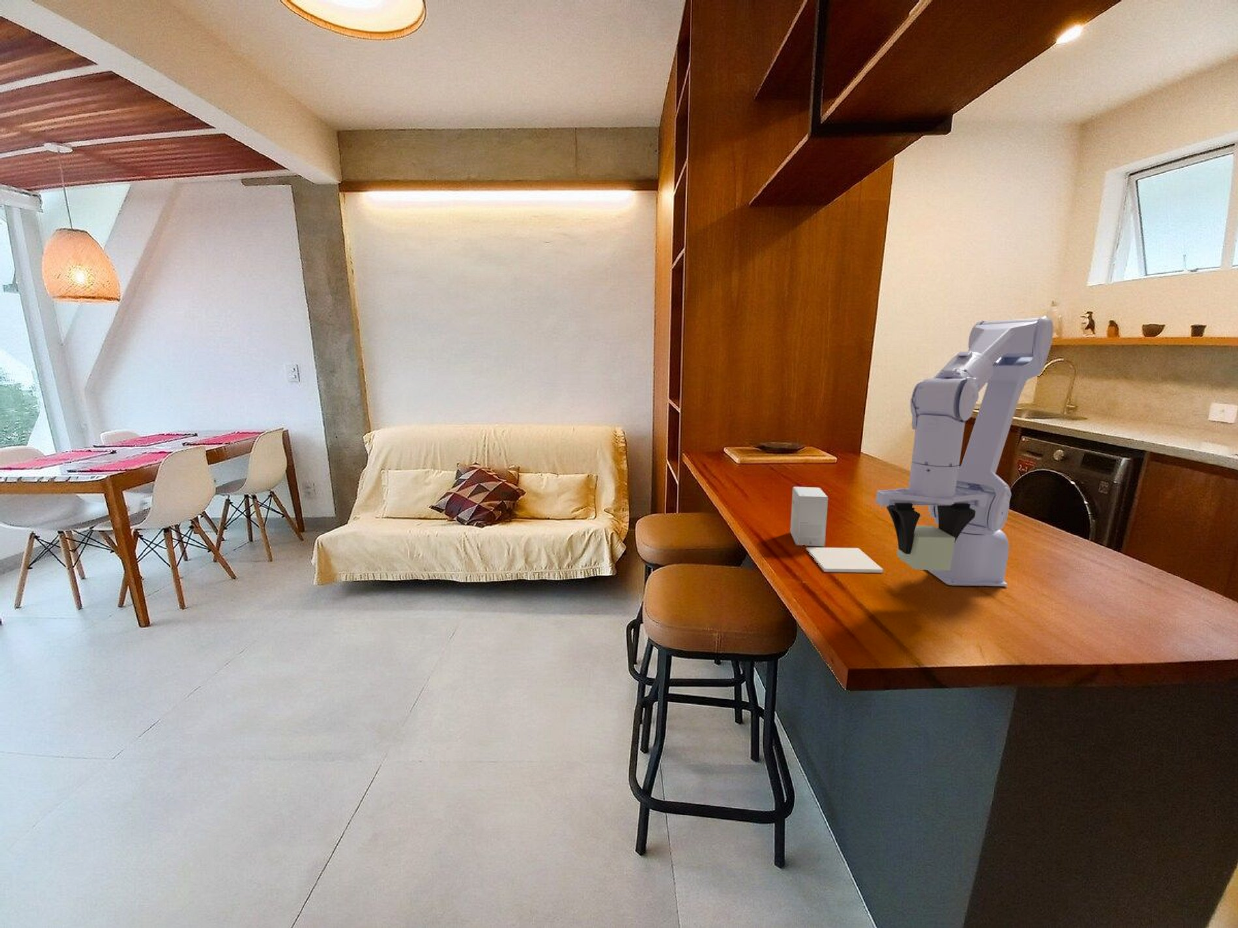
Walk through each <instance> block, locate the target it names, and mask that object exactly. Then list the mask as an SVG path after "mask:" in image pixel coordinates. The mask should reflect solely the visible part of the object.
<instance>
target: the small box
mask: <svg viewBox="0 0 1238 928" xmlns="http://www.w3.org/2000/svg"><path fill="white" fill-rule="evenodd" d="M828 501H829V496H828V495H826V493H825V492H824V491H823V490H822V488H821V487H811V486H810V487H807V486H793V487H792V496H791V513H790V514H791V515H790V530H789V531H790V532H789V533H790V534H791V536H792V537H791V538H792V539H793V541H794V543H795V546H803V545H805V547H808V546H809V547H825V545H826V532H827V531H826V530H827V518H828V517H827V516H828V504H829V502H828Z"/></svg>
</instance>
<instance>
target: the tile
mask: <svg viewBox="0 0 1238 928" xmlns="http://www.w3.org/2000/svg"><path fill="white" fill-rule="evenodd" d="M805 547H806V548H805V550H807V551H808V552H809V553H808V552H807V551H806V552H807V553H808V554H809V556H810V557H811V556H812V557H813V558H814V559H813V558H812V557H811V558H812V559H813V560H814V562H815V563H816V564H817V563H818V564H817V565H818V566H819V567H820V568H821V570H822V571H823V572H824V573H879V574H881V573H884V569H883V568H882V567H881V566H880V565H878V564H877V563H876V562H875V561H874V560H873V559H872V558H871V557H870V556H868V555H867V554H866V553H865V552H863V551H862V549H860V548H859V547H816V546H809V547H808V546H805Z"/></svg>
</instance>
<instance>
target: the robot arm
mask: <svg viewBox="0 0 1238 928" xmlns="http://www.w3.org/2000/svg"><path fill="white" fill-rule="evenodd" d="M1053 335H1054V322H1053V320H1052V319H1051V318H1049V316H1041V317H1033V318H1017V319H1003V320H989V321H988V320H987V321H986V320H979V321H978V322H976V323H975V324H974V325H973V327H971V330H970V332H969V337H968V344H967V345H968V346H967V347H968V350H967V351H959V352H958V353H957V354H956V355H954V356H953V357H952V358H951V359H950V360H949V361H948V362H947V363H946V364H945V365H944V367H942V369H940V370H939V372H938V373H936V375H935V376H934V377H933V378H931V377H929V378H928V377H926V378H925V379H923V380H922V381H919V382H917V383H916V385H915V386H914V388H913V391H912V394H911V397H910V405H909V407H910V412H911V427H912V430H914V437H913V438H914V439H913V447H912V454H911V455H912V457H911V464H910V465H911V466H910V474H909V480H908V487H906V488H905V487H904V488H903V487H902V488H895V489H886V490H885V489H884V490H881V489H880V490H876V494H875V495H876V497H875V503H876V504H877V505H879V506H880V507H886V509H887V511H888V514H889V515H890V518H891V520H892V523H893V526H894V529H895V533H896V538H897V548H898V547H899V550H901V551H902V552H903V553H905V554H910V553H911V550H912V544H913V536H914V531H915V528H916V526H918V525H917V523H918V522H919V521H920V520H919V519H920V517H921V514H920V513H919V512H917V511H915V507H913V506H928V512H929V514H930V516H931V517H932V519H934V524H936V525H938V527H937V528H939V529H941V530H942V531H944V532H946V533H948V534H949V535H951V536H953V537H955V542H954V549H953V555H952V562H951V568H950V570H927V571H928V572H929V573H930V574H932V575H933V576H935V577H936V578H938V580H941V581H942V582H943V583H944V584H946V585H948V586H969V587H970V586H971V587H972V586H973V587H974V586H975V587H984V586H985V587H1007V586H1008V583H1007V582H1006V581H1005V575H1006V570H1007V563H1008V557H1009V551H1010V544H1009V539H1008V536H1007V535H1006V533H1005V532H1004V531H1003V530H1001V529H1003V527H1004V526H1005V524H1006V521H1007V519H1008V515H1009V510H1010V501H1011V497H1012V492H1011V488H1010V485H1009V484H1008V483H1007V482H1005V481H1004V480H1003V479H1002V478H1001V477H1000V476H999V475H998V474H996V473H997V470H998V467H999V463H1000V460H1001V457H1002V454H1003V450H1004V447H1005V444H1006V441H1007V439H1008V435H1009V433H1010V428H1011V425H1012V422H1013V420H1014V416H1015V413H1016V410H1017V406H1018V404H1019V401H1020V397H1021V394H1022V392H1023V390H1024V387H1025V385H1026V384H1027V381H1029V380H1030V379H1033V378H1036V377H1038V376H1040V375H1041V374H1042V371H1043V368H1044V367H1045V366H1046V362H1047V359H1048V356H1049V353H1050V350H1051V347H1052V344H1053ZM985 385H986V387H985ZM983 387H985V390H984V394H983V397H982V400H981V403H980V407H979V409H978V412H977V416H976V418H975V422H974V425H973V428H972V431H971V433H970V437H969V441H968V443H967V446H966V449H965V453H964V456H963V459H962V462H961V454H962V453H961V452H962V449H963V448H962V447H963V440H964V432H965V426H966V421H968V420H969V419H970V418H971V417H972V415H973V413H974V411H975V407H976V404H977V402H978V400H979V395H980V394H979V393H980V391H981V390H982V389H983ZM960 462H961V465H960Z"/></svg>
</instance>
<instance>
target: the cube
mask: <svg viewBox="0 0 1238 928" xmlns="http://www.w3.org/2000/svg"><path fill="white" fill-rule="evenodd" d="M954 542H955V537H953V536H951V535H949V534H948V533H946V532H944V531H942V530H941V529H939V528H938V527H937V526H935V525H916V528H915V531H914V536H913V544H912V550H911V553H910V554H905V553H903V552H902V551H901V550H899V547H898V546H897V551H896V557H898V559H900V560H902V561H903V562H904V563H906V565H908V566H909V567H911V568H912V569H913V570H919V571H920V570H922V571H923V570H924V571H928V570H950V568H951V562H952V555H953V549H954Z"/></svg>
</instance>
